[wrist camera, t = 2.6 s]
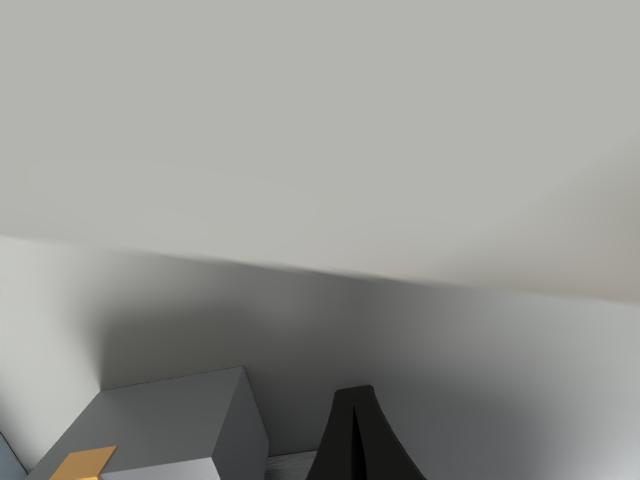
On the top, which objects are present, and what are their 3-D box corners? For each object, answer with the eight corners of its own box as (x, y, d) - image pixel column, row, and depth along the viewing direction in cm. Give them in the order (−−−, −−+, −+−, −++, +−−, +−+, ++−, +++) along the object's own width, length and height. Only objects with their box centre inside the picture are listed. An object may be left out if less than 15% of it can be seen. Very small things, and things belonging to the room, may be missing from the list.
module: (243, 362, 13) (209, 459, 10) (270, 441, 15) (250, 555, 11) (101, 387, 14) (14, 489, 10) (139, 462, 15) (74, 578, 11)
